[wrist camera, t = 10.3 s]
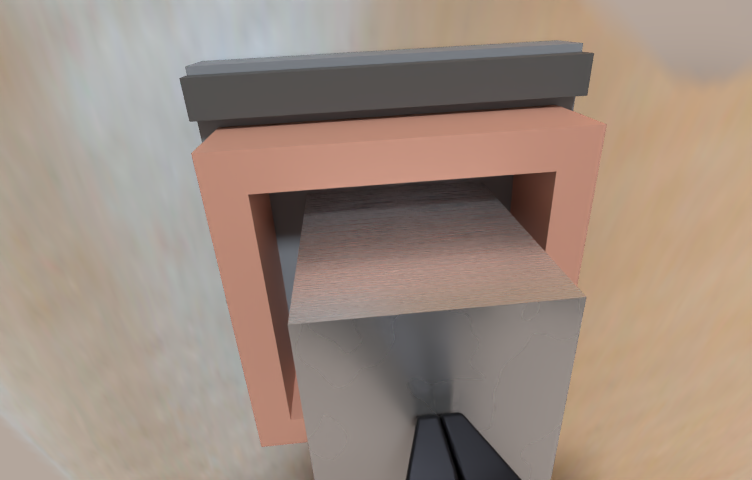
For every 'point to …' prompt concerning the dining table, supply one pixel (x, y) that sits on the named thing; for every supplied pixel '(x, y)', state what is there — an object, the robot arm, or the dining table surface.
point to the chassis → (377, 165)
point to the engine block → (427, 328)
